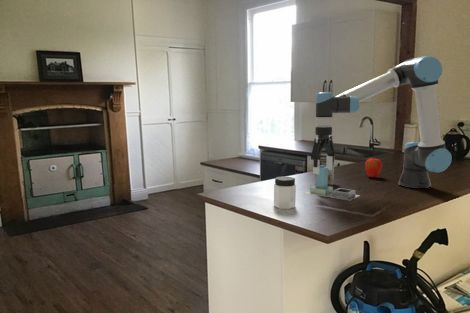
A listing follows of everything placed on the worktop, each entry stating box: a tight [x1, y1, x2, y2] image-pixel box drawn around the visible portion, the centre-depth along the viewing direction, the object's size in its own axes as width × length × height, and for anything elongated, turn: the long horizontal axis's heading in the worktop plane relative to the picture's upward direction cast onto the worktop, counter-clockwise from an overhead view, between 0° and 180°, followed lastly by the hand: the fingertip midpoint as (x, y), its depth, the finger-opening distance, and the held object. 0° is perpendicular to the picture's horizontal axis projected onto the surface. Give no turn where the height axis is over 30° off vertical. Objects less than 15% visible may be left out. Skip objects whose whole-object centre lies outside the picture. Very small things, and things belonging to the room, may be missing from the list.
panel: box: [305, 185, 361, 201], centre depth 177 cm, size 22×12×4 cm, turn 51°
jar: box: [273, 176, 297, 210], centre depth 159 cm, size 9×8×12 cm
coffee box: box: [314, 153, 336, 186], centre depth 201 cm, size 9×6×16 cm
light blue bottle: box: [315, 165, 329, 189], centre depth 180 cm, size 4×4×13 cm
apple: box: [364, 157, 383, 178], centre depth 221 cm, size 9×9×12 cm
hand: (322, 171), depth 179 cm, fingers open, 13 cm apart
